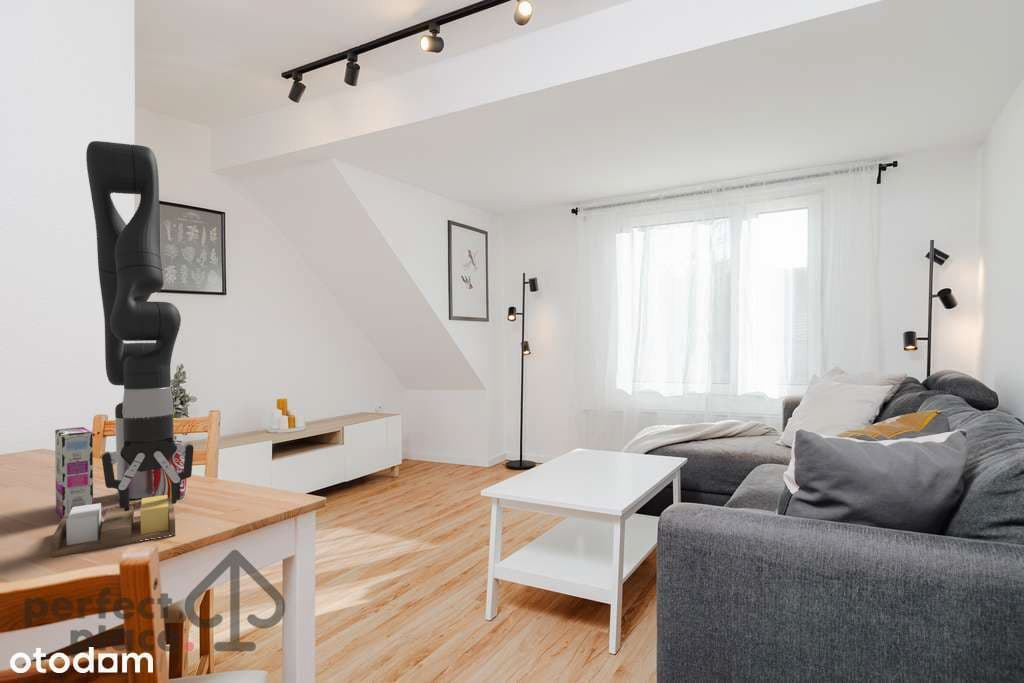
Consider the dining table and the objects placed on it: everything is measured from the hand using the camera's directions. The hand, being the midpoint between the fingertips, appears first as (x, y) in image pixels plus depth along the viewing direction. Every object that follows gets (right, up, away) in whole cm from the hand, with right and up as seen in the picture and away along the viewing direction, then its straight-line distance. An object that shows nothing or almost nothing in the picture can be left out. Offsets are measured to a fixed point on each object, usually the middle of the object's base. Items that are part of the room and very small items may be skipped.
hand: (150, 506), depth 101 cm
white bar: (-8, -3, -5) cm, 10 cm away
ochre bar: (+1, -3, 0) cm, 3 cm away
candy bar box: (-21, -5, +10) cm, 24 cm away
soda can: (-8, -4, +20) cm, 22 cm away
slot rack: (-4, -4, -3) cm, 6 cm away
